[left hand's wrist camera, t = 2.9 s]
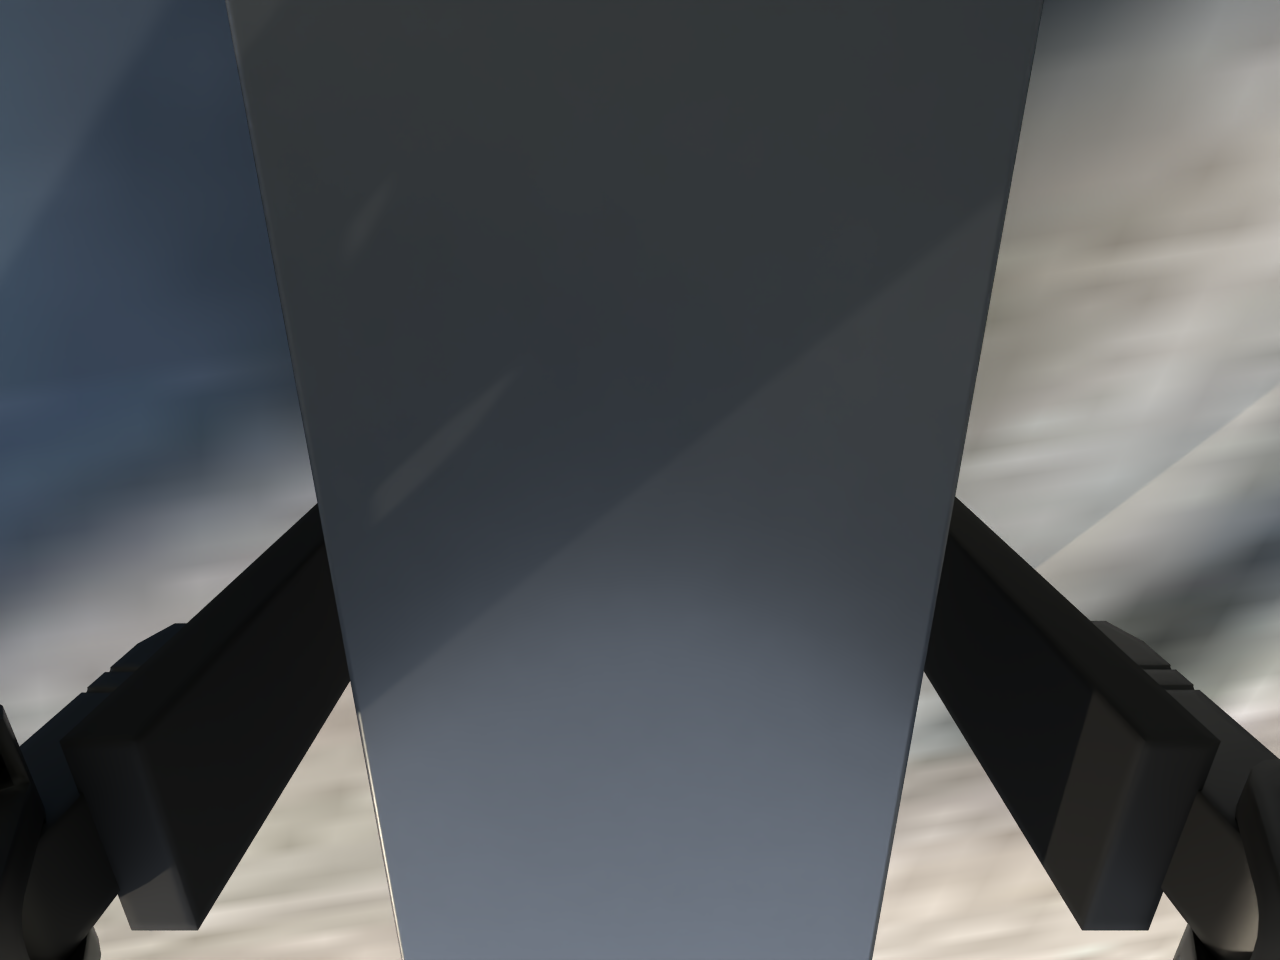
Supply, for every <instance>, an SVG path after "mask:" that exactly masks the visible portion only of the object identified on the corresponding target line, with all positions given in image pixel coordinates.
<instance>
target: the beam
mask: <svg viewBox="0 0 1280 960" xmlns="http://www.w3.org/2000/svg"><path fill="white" fill-rule="evenodd" d="M225 2H226V8H227V13H228V19H229V24H230V30H231V35H232V40H233V46H234V51H235V57H236V62H237V68H238V73H239V78H240V84H241V89H242V95H243V100H244V106H245V111H246V116H247V122H248V127H249V133H250V138H251V144H252V149H253V154H254V160H255V165H256V171H257V176H258V182H259V187H260V192H261V198H262V203H263V209H264V214H265V220H266V225H267V231H268V236H269V241H270V247H271V252H272V258H273V263H274V269H275V274H276V279H277V285H278V290H279V296H280V301H281V307H282V312H283V317H284V323H285V328H286V334H287V339H288V345H289V350H290V355H291V361H292V366H293V372H294V377H295V383H296V388H297V393H298V399H299V404H300V410H301V415H302V421H303V426H304V431H305V437H306V442H307V448H308V453H309V459H310V464H311V469H312V475H313V480H314V486H315V491H316V497H317V502H318V507H319V513H320V518H321V524H322V529H323V535H324V540H325V545H326V551H327V556H328V562H329V567H330V573H331V578H332V583H333V589H334V594H335V600H336V605H337V611H338V616H339V621H340V627H341V632H342V638H343V643H344V649H345V654H346V659H347V665H348V670H349V676H350V681H351V687H352V692H353V698H354V703H355V708H356V714H357V719H358V725H359V730H360V736H361V741H362V746H363V752H364V757H365V763H366V768H367V774H368V779H369V784H370V790H371V795H372V801H373V806H374V812H375V817H376V822H377V828H378V833H379V839H380V844H381V850H382V855H383V860H384V866H385V871H386V877H387V882H388V888H389V893H390V898H391V904H392V909H393V915H394V920H395V926H396V931H397V936H398V942H399V947H400V953H401V958H402V960H872V957H873V951H874V945H875V940H876V934H877V929H878V923H879V917H880V912H881V906H882V901H883V895H884V890H885V884H886V878H887V873H888V867H889V862H890V856H891V850H892V845H893V839H894V834H895V828H896V823H897V817H898V811H899V806H900V800H901V795H902V789H903V784H904V778H905V772H906V767H907V761H908V756H909V750H910V744H911V739H912V733H913V728H914V722H915V717H916V711H917V705H918V700H919V694H920V689H921V683H922V678H923V672H924V666H925V661H926V655H927V650H928V644H929V638H930V633H931V627H932V622H933V616H934V611H935V605H936V599H937V594H938V588H939V583H940V577H941V572H942V566H943V560H944V555H945V549H946V544H947V538H948V532H949V527H950V521H951V516H952V510H953V505H954V499H955V493H956V488H957V482H958V477H959V471H960V465H961V460H962V454H963V449H964V443H965V438H966V432H967V426H968V421H969V415H970V410H971V404H972V399H973V393H974V387H975V382H976V376H977V371H978V365H979V359H980V354H981V348H982V343H983V337H984V332H985V326H986V320H987V315H988V309H989V304H990V298H991V293H992V287H993V281H994V276H995V270H996V265H997V259H998V253H999V248H1000V242H1001V237H1002V231H1003V226H1004V220H1005V214H1006V209H1007V203H1008V198H1009V192H1010V186H1011V181H1012V175H1013V170H1014V164H1015V159H1016V153H1017V147H1018V142H1019V136H1020V131H1021V125H1022V120H1023V114H1024V108H1025V103H1026V97H1027V92H1028V86H1029V80H1030V75H1031V69H1032V64H1033V58H1034V53H1035V47H1036V41H1037V36H1038V30H1039V25H1040V19H1041V14H1042V8H1043V2H1044V0H225Z"/></svg>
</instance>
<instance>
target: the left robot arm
mask: <svg viewBox="0 0 1280 960" xmlns="http://www.w3.org/2000/svg"><path fill="white" fill-rule="evenodd" d="M110 668H111V670H110V672H105V673H103V674H102V675H101V676H100V677H99V678H98V679H97V680H95V681H94V682H93V683H92V684H91V685H90V686H89V687H87V688H88V690H87V692H86V693H81V694H79V695H78V696H77V697H76V698H75V699H74V700H72V701H71V702H70V703H69V704H68V705H67V706H66V707H64V708H63V709H62V710H61V711H60V712H59V713H58V714H56V715H55V716H54V717H53V718H52V719H51V720H50V721H48V722H47V723H46V724H45V725H44V726H43V727H42V728H40V729H39V730H38V731H37V732H36V733H35V734H33V735H32V736H31V737H30V738H29V739H28V740H27V741H25V742H24V743H23V744H22V745H21V746H20V747H19V744H18V742H17V740H16V737H15V735H14V732H13V730H12V727H11V725H10V723H9V720H8V718H7V715H6V713H5V710H4V708H3V706H2V705H0V960H100V958H101V951H100V945H99V939H98V936H97V934H96V932H95V929H94V927H93V926H94V925H95V923H96V922H97V921H98V919H99V918H100V917H101V915H102V914H103V913H104V911H105V910H106V909H107V907H108V906H109V905H110V903H111V902H112V901H113V900H114V898H115V897H116V896H117V894H118V896H119V899H120V901H121V904H122V907H123V909H124V912H125V914H126V917H127V920H128V922H129V925H130V927H131V930H198V929H199V928H200V926H201V924H202V923H203V921H204V919H205V918H206V916H207V914H208V913H209V911H210V910H211V908H212V906H213V905H214V903H215V901H216V900H217V898H218V896H219V895H220V893H221V892H222V890H223V888H224V887H225V885H226V883H227V882H228V880H229V878H230V877H231V875H232V874H233V872H234V870H235V869H236V867H237V865H238V864H239V862H240V860H241V859H242V857H243V856H244V854H245V852H246V851H247V849H248V847H249V846H250V844H251V842H252V841H253V839H254V838H255V836H256V834H257V833H258V831H259V829H260V828H261V826H262V824H263V823H264V821H265V819H266V818H267V816H268V815H269V813H270V811H271V810H272V808H273V806H274V805H275V803H276V801H277V800H278V798H279V797H280V795H281V793H282V792H283V790H284V788H285V787H286V785H287V783H288V782H289V780H290V779H291V777H292V775H293V774H294V772H295V770H296V769H297V767H298V765H299V764H300V762H301V761H302V759H303V757H304V756H305V754H306V752H307V751H308V749H309V747H310V746H311V744H312V743H313V741H314V739H315V738H316V736H317V734H318V733H319V731H320V729H321V728H322V726H323V724H324V723H325V721H326V720H327V718H328V716H329V715H330V713H331V711H332V710H333V708H334V706H335V705H336V703H337V702H338V700H339V698H340V697H341V695H342V693H343V692H344V690H345V688H346V687H347V685H348V684H349V682H350V676H349V670H348V665H347V659H346V654H345V649H344V643H343V638H342V632H341V627H340V621H339V616H338V611H337V605H336V600H335V594H334V589H333V583H332V578H331V573H330V567H329V562H328V556H327V551H326V545H325V540H324V535H323V529H322V524H321V518H320V513H319V507H318V503H317V504H316V505H315V506H314V507H313V508H312V509H311V510H310V511H308V512H307V513H306V514H305V515H304V516H303V517H302V518H301V519H300V520H299V521H298V522H297V523H295V524H294V525H293V526H292V527H291V528H290V529H289V530H288V531H287V532H286V533H285V534H283V535H282V536H281V537H280V538H279V539H278V540H277V541H276V542H275V543H274V544H273V545H272V546H270V547H269V548H268V549H267V550H266V551H265V552H264V553H263V554H262V555H261V556H260V557H259V558H257V559H256V560H255V561H254V562H253V563H252V564H251V565H250V566H249V567H248V568H247V569H245V570H244V571H243V572H242V573H241V574H240V575H239V576H238V577H237V578H236V579H235V580H234V581H232V582H231V583H230V584H229V585H228V586H227V587H226V588H225V589H224V590H223V591H222V592H221V593H219V594H218V595H217V596H216V597H215V598H214V599H213V600H212V601H211V602H210V603H209V604H208V605H206V606H205V607H204V608H203V609H202V610H201V611H200V612H199V613H198V614H197V615H196V616H194V617H193V618H192V619H191V620H190V621H189V622H188V623H175V624H173V625H171V626H169V627H167V628H166V629H164V630H162V631H160V632H158V633H156V634H155V635H153V636H151V637H149V638H147V639H145V640H144V641H142V642H140V643H138V644H137V645H136V646H134V647H133V648H132V649H131V650H130V651H129V652H128V653H126V654H125V655H124V656H123V657H122V658H121V659H120V660H118V661H117V662H116V663H115V664H114V665H113V666H112V667H110ZM924 672H925V674H926V675H927V677H928V679H929V680H930V682H931V684H932V685H933V687H934V688H935V690H936V692H937V693H938V695H939V697H940V698H941V700H942V702H943V703H944V705H945V706H946V708H947V710H948V711H949V713H950V715H951V716H952V718H953V720H954V721H955V723H956V725H957V726H958V728H959V729H960V731H961V733H962V734H963V736H964V738H965V739H966V741H967V743H968V744H969V746H970V747H971V749H972V751H973V752H974V754H975V756H976V757H977V759H978V761H979V762H980V764H981V765H982V767H983V769H984V770H985V772H986V774H987V775H988V777H989V779H990V780H991V782H992V783H993V785H994V787H995V788H996V790H997V792H998V793H999V795H1000V797H1001V798H1002V800H1003V801H1004V803H1005V805H1006V806H1007V808H1008V810H1009V811H1010V813H1011V815H1012V816H1013V818H1014V820H1015V821H1016V823H1017V824H1018V826H1019V828H1020V829H1021V831H1022V833H1023V834H1024V836H1025V838H1026V839H1027V841H1028V842H1029V844H1030V846H1031V847H1032V849H1033V851H1034V852H1035V854H1036V856H1037V857H1038V859H1039V860H1040V862H1041V864H1042V865H1043V867H1044V869H1045V870H1046V872H1047V874H1048V875H1049V877H1050V878H1051V880H1052V882H1053V883H1054V885H1055V887H1056V888H1057V890H1058V892H1059V893H1060V895H1061V896H1062V898H1063V900H1064V901H1065V903H1066V905H1067V906H1068V908H1069V910H1070V911H1071V913H1072V915H1073V916H1074V918H1075V919H1076V921H1077V923H1078V924H1079V926H1080V928H1081V929H1082V930H1149V927H1150V925H1151V922H1152V920H1153V917H1154V914H1155V912H1156V909H1157V907H1158V904H1159V901H1160V899H1161V896H1162V893H1163V892H1164V893H1165V894H1166V896H1167V897H1168V898H1169V900H1170V901H1171V902H1172V903H1173V905H1174V906H1175V907H1176V909H1177V910H1178V911H1179V913H1180V914H1181V915H1182V917H1183V918H1184V919H1185V920H1186V922H1187V923H1188V924H1187V927H1186V929H1185V932H1184V934H1183V936H1182V939H1181V941H1180V944H1179V946H1178V949H1177V951H1176V953H1175V956H1174V958H1173V960H1280V759H1279V758H1277V757H1276V756H1275V755H1274V754H1273V753H1272V752H1271V751H1269V750H1268V749H1267V748H1266V747H1265V746H1264V745H1262V744H1261V743H1260V742H1259V741H1258V740H1257V739H1255V738H1254V737H1253V736H1252V735H1251V734H1250V733H1249V732H1247V731H1246V730H1245V729H1244V728H1243V727H1242V726H1240V725H1239V724H1238V723H1237V722H1236V721H1235V720H1234V719H1232V718H1231V717H1230V716H1229V715H1228V714H1227V713H1225V712H1224V711H1223V710H1222V709H1221V708H1220V707H1219V706H1217V705H1216V704H1215V703H1214V702H1213V701H1212V700H1210V699H1209V698H1208V697H1207V696H1206V695H1205V694H1203V693H1202V692H1201V691H1200V690H1194V688H1193V684H1192V683H1191V682H1190V681H1188V680H1187V679H1186V678H1185V677H1184V676H1183V675H1182V674H1180V673H1179V672H1178V671H1177V670H1171V668H1170V664H1169V663H1168V662H1166V661H1165V660H1164V659H1163V658H1162V657H1161V656H1160V655H1158V654H1157V653H1156V652H1155V651H1154V650H1153V649H1151V648H1150V647H1149V646H1148V645H1147V644H1146V643H1145V642H1143V641H1142V640H1140V639H1138V638H1136V637H1134V636H1132V635H1131V634H1129V633H1127V632H1125V631H1123V630H1121V629H1120V628H1118V627H1116V626H1114V625H1112V624H1110V623H1109V622H1107V621H1090V620H1089V619H1088V618H1087V617H1086V616H1084V615H1083V614H1082V613H1081V612H1080V611H1079V610H1078V609H1077V608H1076V607H1075V606H1074V605H1072V604H1071V603H1070V602H1069V601H1068V600H1067V599H1066V598H1065V597H1064V596H1063V595H1062V594H1061V593H1059V592H1058V591H1057V590H1056V589H1055V588H1054V587H1053V586H1052V585H1051V584H1050V583H1049V582H1048V581H1046V580H1045V579H1044V578H1043V577H1042V576H1041V575H1040V574H1039V573H1038V572H1037V571H1036V570H1034V569H1033V568H1032V567H1031V566H1030V565H1029V564H1028V563H1027V562H1026V561H1025V560H1024V559H1023V558H1021V557H1020V556H1019V555H1018V554H1017V553H1016V552H1015V551H1014V550H1013V549H1012V548H1011V547H1010V546H1008V545H1007V544H1006V543H1005V542H1004V541H1003V540H1002V539H1001V538H1000V537H999V536H998V535H996V534H995V533H994V532H993V531H992V530H991V529H990V528H989V527H988V526H987V525H986V524H985V523H983V522H982V521H981V520H980V519H979V518H978V517H977V516H976V515H975V514H974V513H973V512H972V511H970V510H969V509H968V508H967V507H966V506H965V505H964V504H963V503H962V502H961V501H960V500H958V499H957V498H956V497H955V499H954V505H953V510H952V516H951V521H950V527H949V532H948V538H947V544H946V549H945V555H944V560H943V566H942V572H941V577H940V583H939V588H938V594H937V599H936V605H935V611H934V616H933V622H932V627H931V633H930V638H929V644H928V650H927V655H926V661H925V666H924Z"/></svg>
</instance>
